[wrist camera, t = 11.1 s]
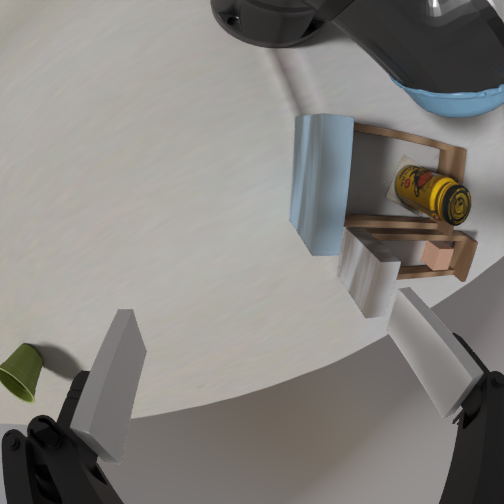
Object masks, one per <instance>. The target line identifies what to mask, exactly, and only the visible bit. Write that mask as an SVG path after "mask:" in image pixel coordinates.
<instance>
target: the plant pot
mask: <svg viewBox="0 0 504 504" xmlns="http://www.w3.org/2000/svg"><path fill="white" fill-rule="evenodd" d="M42 365H43V359H42V357H41V356H40V355H39V354H38V352H37V351H36V350H35V349H34V348H33V347H31V346H29V345H27V344H22V345H21V346H20V347H19V348H18V349H17V350H16V351H15V352H14V353H13V354H12V355H11V356H10V357H9V358H8V359H7V360H6V361H5V362H4V363H2V364H1V365H0V382H1V383H2V385H3V386H4V387H5V388H6V389H7V390H8V391H9V392H11V393H12V394H13V395H14V396H16V397H17V398H19V399H20V400H22V401H24V402H27V403H31V404H32V403H34V402H35V398H34V395H35V388H36V385H37V381H38V378H39V375H40V371H41V368H42Z"/></svg>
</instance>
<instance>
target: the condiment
mask: <svg viewBox="0 0 504 504" xmlns="http://www.w3.org/2000/svg"><path fill="white" fill-rule="evenodd" d="M386 198H388V199H389V200H391V201H393V202H395V203H397V204H399V205H400V206H402V207H404V208H406V209H408V210H409V211H411V212H413V213H415V214H416V215H418V216H420V217H421V216H422V214H423V212H424V213H425V214H427V215H429V216H430V217H432V218H434V219H436V220H438V221H444V222H447V223H448V224H450V225H453V226H457V225H460V224H461V223H463V222H464V221H465V219H466V218H467V216H468V214H469V212H470V208H471V196H470V193H469V191H468V190H467V189H466V188H465V187H464V186H462V185H459V184H458V183H456V182H455V181H454V180H453V179H451V178H450V177H447V176H443V175H441V174H438V173H435V172H433V171H429V170H425V169H424V168H422V167H421V166H419V165H418V164H416V163H415V162H414V161H412V160H411V159H409V158H408V157H406V156H405V155H403V156H402V159H401V161H400V164H399V165H398V168H397V170H396V173H395V175H394V178H393V180H392V182H391V185H390V188H389V190H388V192H387V195H386Z"/></svg>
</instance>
